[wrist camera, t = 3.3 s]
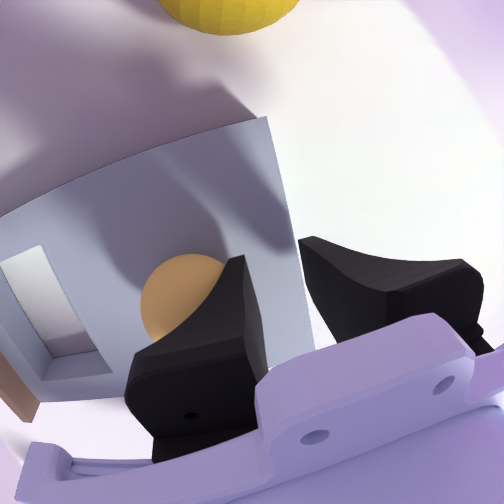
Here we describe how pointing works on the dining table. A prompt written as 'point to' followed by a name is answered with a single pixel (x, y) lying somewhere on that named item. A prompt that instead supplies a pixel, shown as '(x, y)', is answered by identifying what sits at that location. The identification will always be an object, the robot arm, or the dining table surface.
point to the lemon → (227, 14)
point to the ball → (177, 291)
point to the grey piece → (149, 256)
